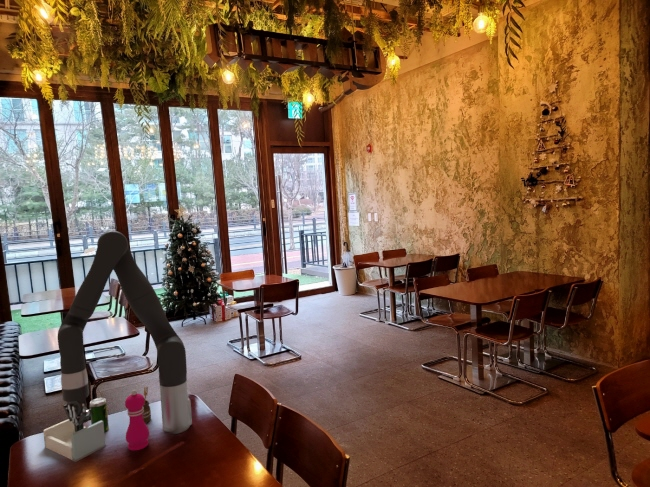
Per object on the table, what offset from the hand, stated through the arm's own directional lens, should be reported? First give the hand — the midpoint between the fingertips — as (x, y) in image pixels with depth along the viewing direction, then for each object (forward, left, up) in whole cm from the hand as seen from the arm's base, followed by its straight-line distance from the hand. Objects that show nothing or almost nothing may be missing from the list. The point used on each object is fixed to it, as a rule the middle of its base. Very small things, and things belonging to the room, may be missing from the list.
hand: (79, 434), depth 145 cm
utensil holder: (-23, 0, -6) cm, 24 cm away
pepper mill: (-10, +15, -6) cm, 20 cm away
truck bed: (0, -4, -6) cm, 7 cm away
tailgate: (0, +5, -5) cm, 7 cm away
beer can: (-10, -6, -6) cm, 13 cm away
